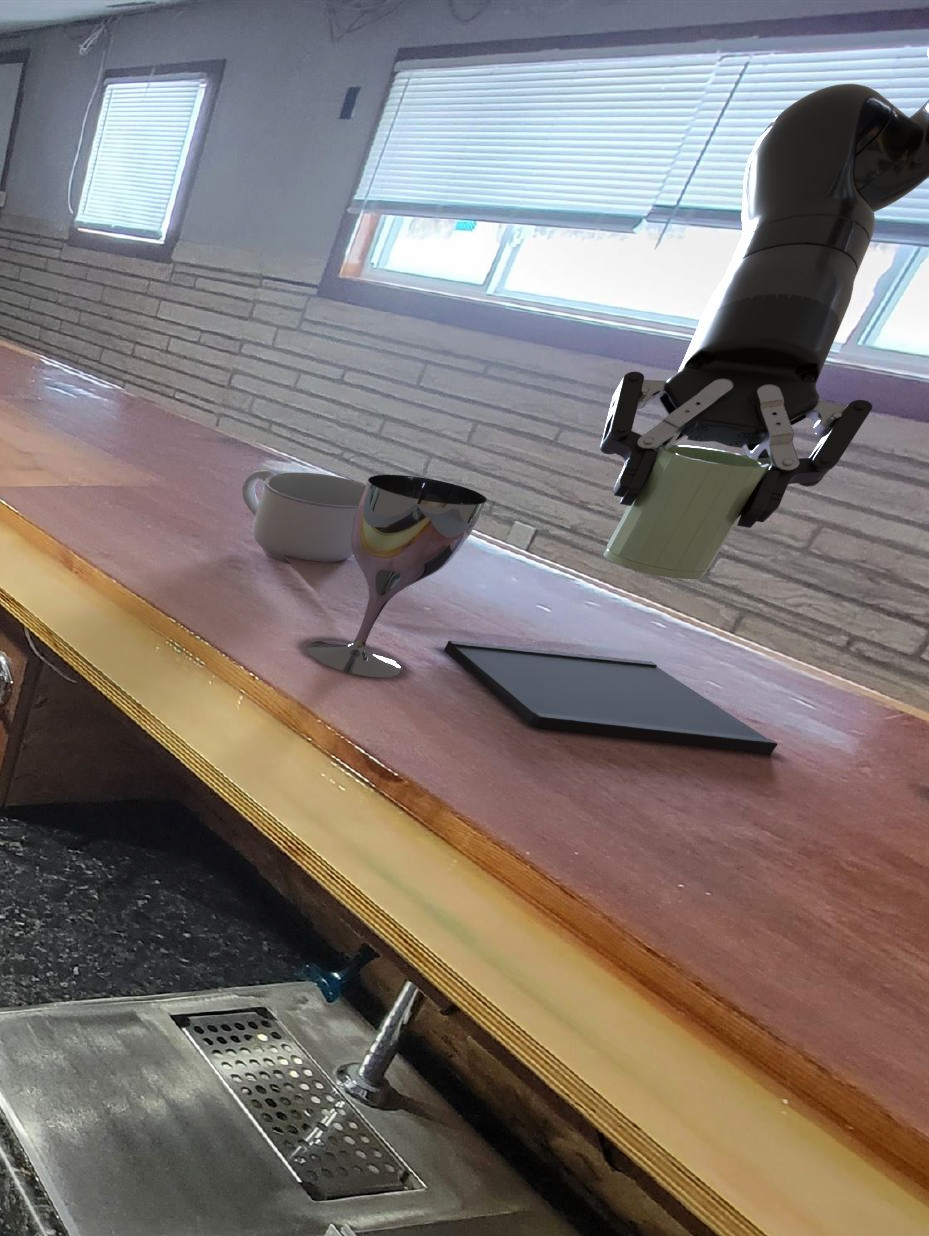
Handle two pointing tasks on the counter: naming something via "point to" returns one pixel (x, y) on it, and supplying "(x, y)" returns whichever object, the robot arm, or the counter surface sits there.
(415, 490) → the wine glass
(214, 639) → the counter surface
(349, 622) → the counter surface
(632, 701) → the bar mat
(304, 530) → the teacup
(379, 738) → the counter surface
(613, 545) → the cup
